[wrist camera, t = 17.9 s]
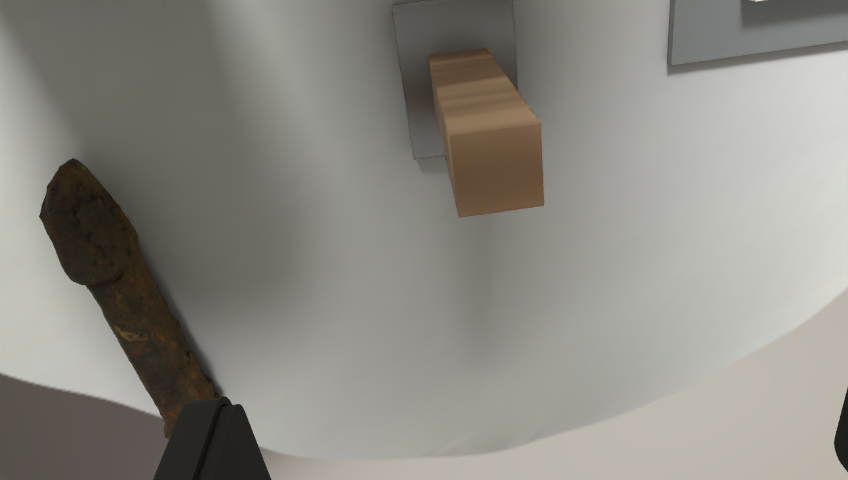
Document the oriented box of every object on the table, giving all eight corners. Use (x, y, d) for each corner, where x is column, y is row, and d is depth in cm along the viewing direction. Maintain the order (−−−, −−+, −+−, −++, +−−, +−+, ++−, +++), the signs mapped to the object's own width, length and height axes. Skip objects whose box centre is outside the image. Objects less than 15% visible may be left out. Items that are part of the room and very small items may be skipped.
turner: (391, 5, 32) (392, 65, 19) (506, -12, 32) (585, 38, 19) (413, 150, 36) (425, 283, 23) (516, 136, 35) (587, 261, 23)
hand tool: (232, 396, 44) (215, 445, 40) (177, 405, 44) (155, 456, 40) (124, 146, 35) (89, 176, 31) (56, 159, 35) (13, 191, 31)
